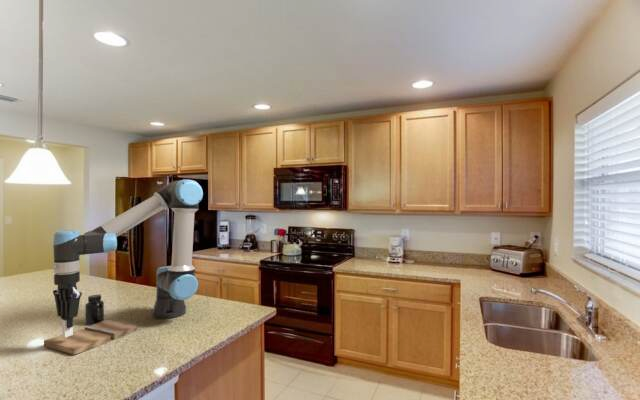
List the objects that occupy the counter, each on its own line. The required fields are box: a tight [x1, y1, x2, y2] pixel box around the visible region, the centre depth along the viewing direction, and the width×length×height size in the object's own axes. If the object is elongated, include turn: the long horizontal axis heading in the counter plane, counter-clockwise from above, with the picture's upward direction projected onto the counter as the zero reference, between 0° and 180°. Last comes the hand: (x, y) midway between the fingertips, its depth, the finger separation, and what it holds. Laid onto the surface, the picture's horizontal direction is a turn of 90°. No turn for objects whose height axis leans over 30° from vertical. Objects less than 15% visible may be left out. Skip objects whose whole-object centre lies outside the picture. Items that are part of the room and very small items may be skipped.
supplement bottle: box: [84, 294, 105, 326], centre depth 145 cm, size 7×7×12 cm
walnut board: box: [84, 319, 138, 341], centre depth 135 cm, size 10×18×2 cm, turn 68°
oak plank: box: [43, 328, 112, 355], centre depth 123 cm, size 13×18×2 cm
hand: (67, 335), depth 120 cm, fingers closed
